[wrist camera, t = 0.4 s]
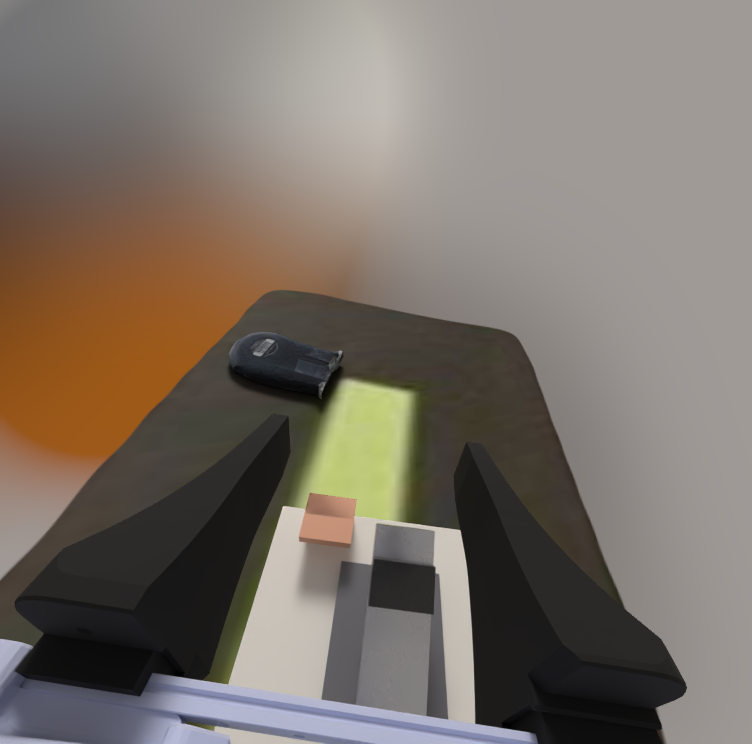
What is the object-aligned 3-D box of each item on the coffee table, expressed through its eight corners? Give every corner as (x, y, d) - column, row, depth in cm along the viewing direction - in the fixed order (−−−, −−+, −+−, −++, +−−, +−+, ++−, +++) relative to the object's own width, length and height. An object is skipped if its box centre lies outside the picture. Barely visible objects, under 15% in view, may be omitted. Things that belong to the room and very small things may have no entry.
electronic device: (343, 367, 48) (253, 332, 48) (348, 343, 44) (250, 305, 44) (319, 415, 42) (217, 376, 42) (323, 393, 38) (209, 349, 38)
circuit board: (558, 905, 16) (606, 944, 14) (179, 864, 16) (150, 896, 13) (491, 541, 30) (508, 524, 27) (284, 512, 29) (280, 492, 26)
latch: (348, 556, 26) (350, 543, 24) (300, 550, 26) (298, 536, 24) (353, 514, 28) (356, 499, 26) (310, 508, 28) (309, 492, 26)
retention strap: (416, 810, 17) (423, 842, 15) (343, 801, 17) (343, 833, 15) (431, 529, 22) (437, 532, 21) (375, 522, 22) (377, 524, 20)
